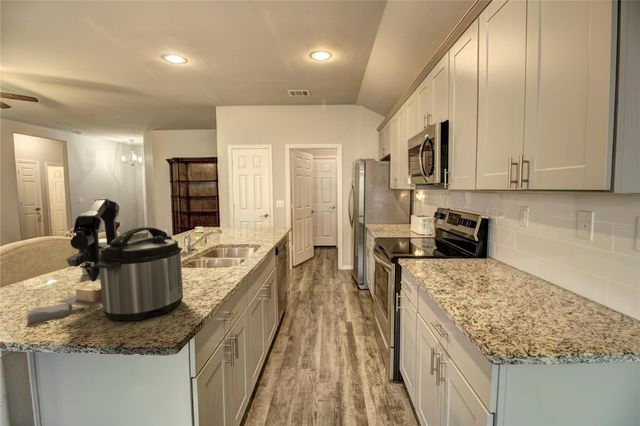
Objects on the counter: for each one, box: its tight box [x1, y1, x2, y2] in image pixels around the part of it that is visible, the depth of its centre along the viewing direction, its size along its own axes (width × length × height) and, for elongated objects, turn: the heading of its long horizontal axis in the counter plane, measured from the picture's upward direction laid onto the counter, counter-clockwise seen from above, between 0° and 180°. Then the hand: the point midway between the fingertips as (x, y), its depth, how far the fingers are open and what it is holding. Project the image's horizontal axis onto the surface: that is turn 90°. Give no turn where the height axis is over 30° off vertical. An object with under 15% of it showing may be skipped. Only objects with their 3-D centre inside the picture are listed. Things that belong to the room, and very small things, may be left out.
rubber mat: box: [57, 295, 102, 307], centre depth 130 cm, size 14×18×1 cm
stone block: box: [26, 303, 73, 324], centre depth 114 cm, size 12×5×10 cm
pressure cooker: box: [97, 226, 184, 321], centre depth 118 cm, size 30×28×32 cm
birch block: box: [75, 284, 102, 302], centre depth 129 cm, size 6×5×11 cm
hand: (93, 281), depth 128 cm, fingers closed
